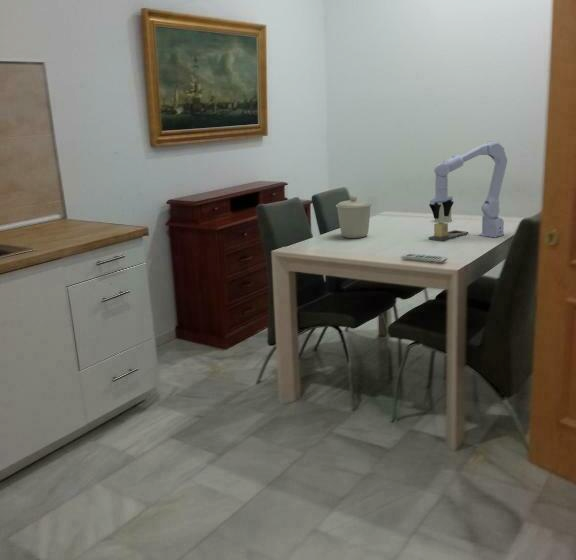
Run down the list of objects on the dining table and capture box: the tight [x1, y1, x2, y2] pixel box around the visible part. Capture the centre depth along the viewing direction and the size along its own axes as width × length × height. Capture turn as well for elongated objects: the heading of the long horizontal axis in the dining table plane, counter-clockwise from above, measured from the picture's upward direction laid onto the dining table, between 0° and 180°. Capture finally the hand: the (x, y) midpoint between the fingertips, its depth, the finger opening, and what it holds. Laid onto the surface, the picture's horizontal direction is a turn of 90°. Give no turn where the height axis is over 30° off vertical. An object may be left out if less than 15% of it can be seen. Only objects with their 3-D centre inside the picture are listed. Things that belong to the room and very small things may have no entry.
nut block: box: [433, 222, 449, 238], centre depth 304 cm, size 4×4×8 cm
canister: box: [335, 194, 373, 239], centre depth 321 cm, size 18×18×21 cm
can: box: [434, 202, 453, 223], centre depth 348 cm, size 9×9×12 cm
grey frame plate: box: [428, 229, 469, 242], centre depth 309 cm, size 8×20×1 cm, turn 129°
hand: (441, 217), depth 306 cm, fingers open, 7 cm apart
